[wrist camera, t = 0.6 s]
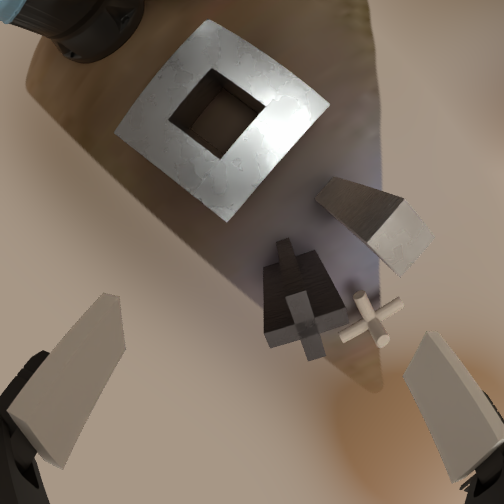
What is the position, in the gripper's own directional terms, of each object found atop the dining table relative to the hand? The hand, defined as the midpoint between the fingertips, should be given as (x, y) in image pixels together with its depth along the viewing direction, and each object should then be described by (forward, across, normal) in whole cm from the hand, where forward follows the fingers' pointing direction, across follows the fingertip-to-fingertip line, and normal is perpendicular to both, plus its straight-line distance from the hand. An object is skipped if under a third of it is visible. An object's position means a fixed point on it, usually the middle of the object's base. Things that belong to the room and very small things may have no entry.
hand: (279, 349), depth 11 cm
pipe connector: (+28, +17, -12) cm, 35 cm away
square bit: (+28, +9, +3) cm, 30 cm away
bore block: (+29, -6, +10) cm, 31 cm away
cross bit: (+28, +5, -8) cm, 29 cm away
